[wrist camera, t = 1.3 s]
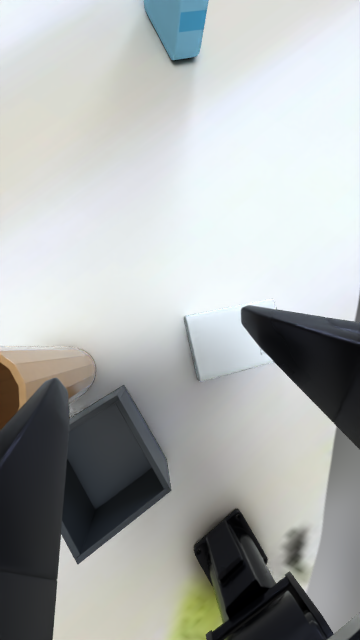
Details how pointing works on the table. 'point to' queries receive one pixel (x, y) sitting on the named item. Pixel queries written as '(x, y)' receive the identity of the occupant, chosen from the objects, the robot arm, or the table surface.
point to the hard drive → (223, 342)
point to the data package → (178, 25)
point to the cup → (40, 374)
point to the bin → (109, 472)
